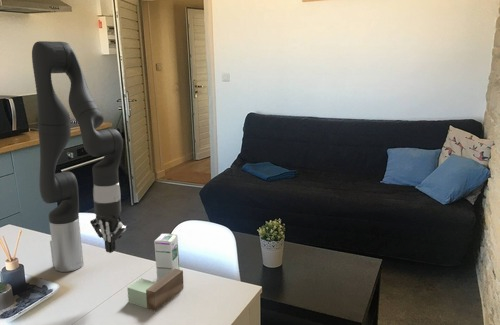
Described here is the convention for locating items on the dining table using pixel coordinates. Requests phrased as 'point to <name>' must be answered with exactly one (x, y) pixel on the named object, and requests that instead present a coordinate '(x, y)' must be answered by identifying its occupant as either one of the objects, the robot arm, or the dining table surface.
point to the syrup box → (166, 254)
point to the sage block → (139, 292)
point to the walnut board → (164, 289)
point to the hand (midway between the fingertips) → (110, 251)
